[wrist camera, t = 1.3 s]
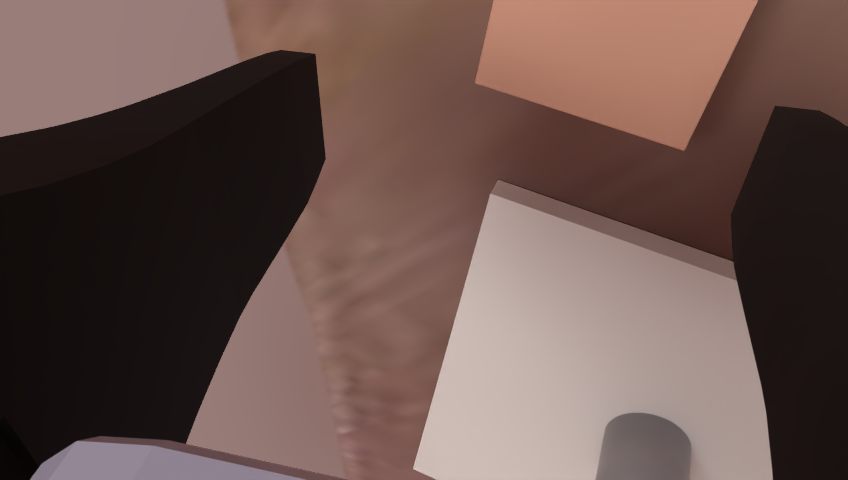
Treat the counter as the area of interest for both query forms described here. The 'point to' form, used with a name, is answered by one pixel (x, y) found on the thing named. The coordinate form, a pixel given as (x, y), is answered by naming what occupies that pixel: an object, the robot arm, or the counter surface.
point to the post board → (594, 357)
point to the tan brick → (615, 59)
